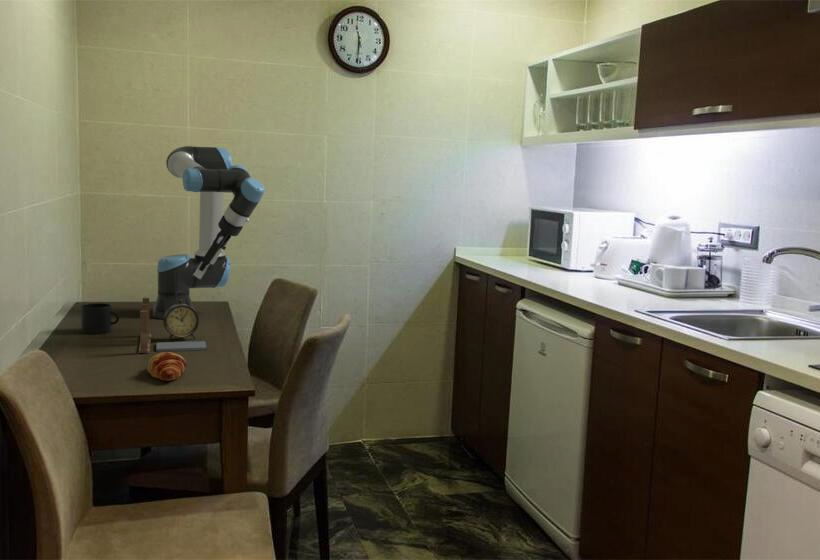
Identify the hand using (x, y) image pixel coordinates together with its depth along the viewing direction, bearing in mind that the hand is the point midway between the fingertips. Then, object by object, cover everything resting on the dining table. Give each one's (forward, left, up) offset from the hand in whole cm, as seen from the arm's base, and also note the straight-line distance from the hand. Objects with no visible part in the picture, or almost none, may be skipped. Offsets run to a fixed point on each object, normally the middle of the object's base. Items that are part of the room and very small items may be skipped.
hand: (203, 269), depth 256 cm
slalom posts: (+13, -19, -23) cm, 32 cm away
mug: (-9, -34, -23) cm, 41 cm away
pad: (+19, -8, -23) cm, 31 cm away
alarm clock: (+7, -8, -23) cm, 25 cm away
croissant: (+51, -12, -23) cm, 57 cm away
